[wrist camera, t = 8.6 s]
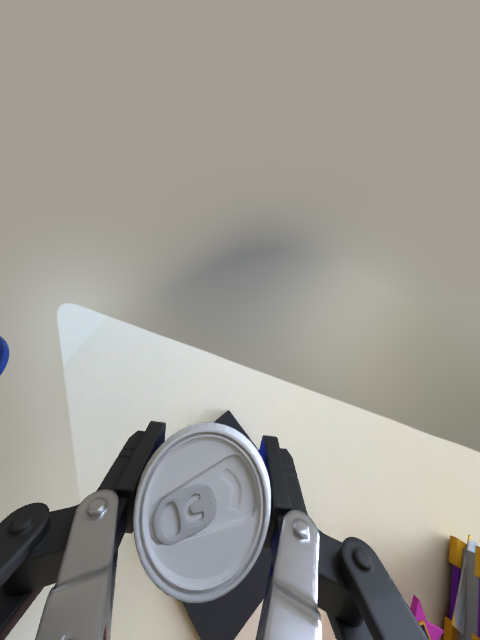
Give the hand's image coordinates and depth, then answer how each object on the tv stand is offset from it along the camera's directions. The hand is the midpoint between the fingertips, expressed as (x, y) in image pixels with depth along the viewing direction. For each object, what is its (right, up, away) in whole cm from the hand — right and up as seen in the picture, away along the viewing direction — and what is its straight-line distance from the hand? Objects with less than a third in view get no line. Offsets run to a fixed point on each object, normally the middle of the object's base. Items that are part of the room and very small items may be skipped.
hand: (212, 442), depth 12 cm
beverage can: (-1, -7, +9) cm, 11 cm away
